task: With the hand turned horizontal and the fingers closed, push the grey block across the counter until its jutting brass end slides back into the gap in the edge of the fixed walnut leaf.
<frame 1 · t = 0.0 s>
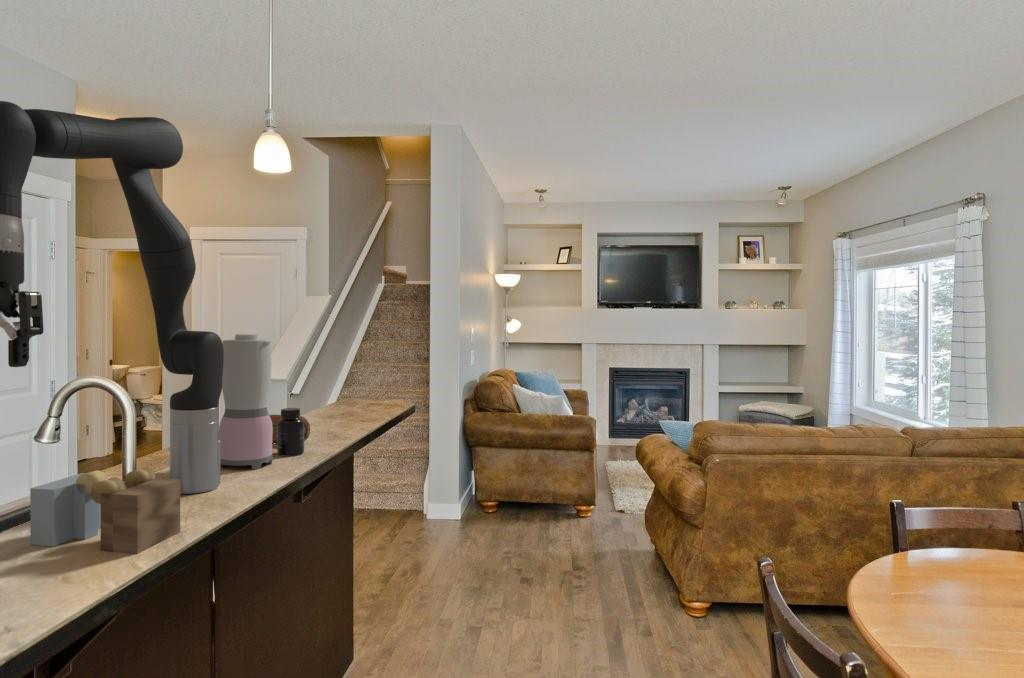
grey block: (79, 503, 104), point 5 cm above the worktop, slide at 6.0 cm
fixed leaf: (124, 539, 103), on the worktop
blender: (239, 465, 156), on the worktop
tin: (284, 444, 182), on the worktop
supplement bottle: (290, 454, 169), on the worktop
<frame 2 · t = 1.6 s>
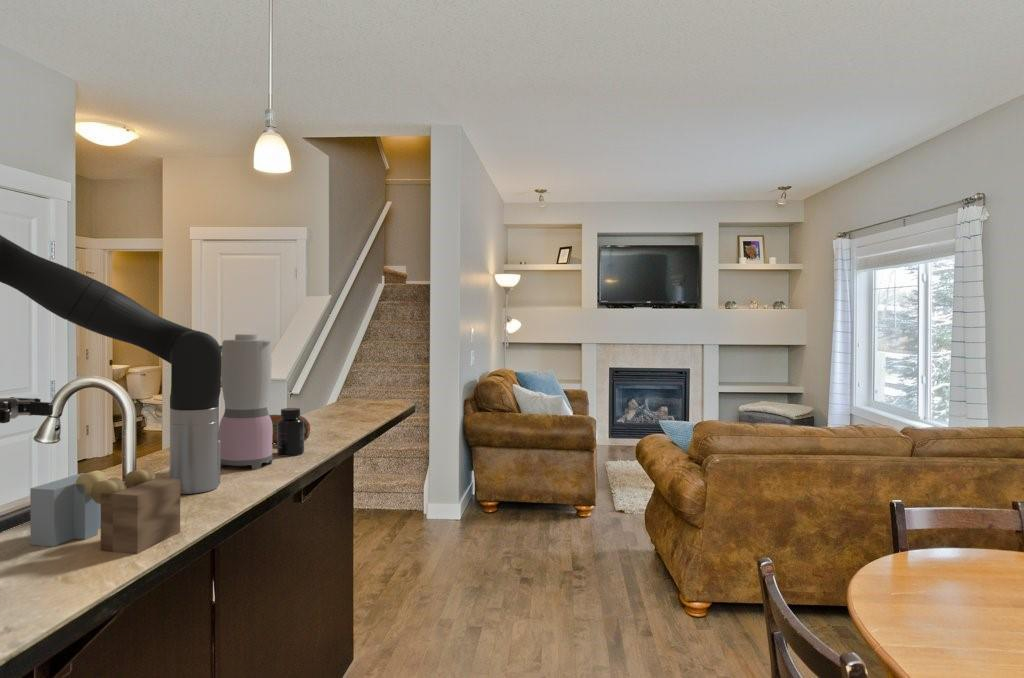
hand: (30, 412, 104), 20 cm above the worktop, tool horizontal, fingers open, 7 cm apart
nothing on the worktop moved.
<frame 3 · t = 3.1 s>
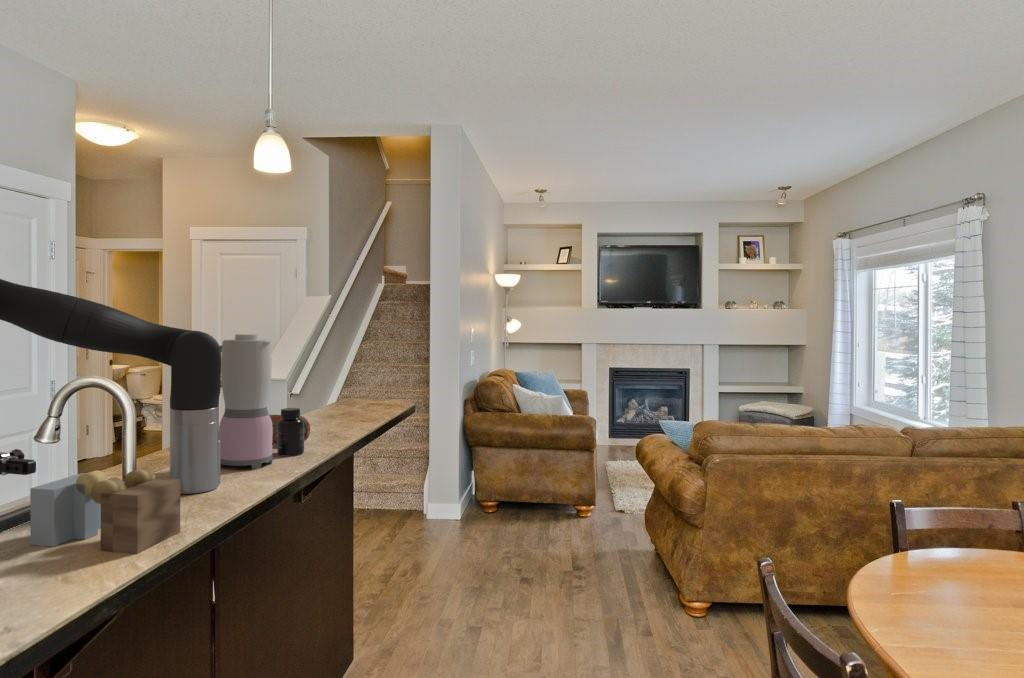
hand: (32, 467, 105), 11 cm above the worktop, tool horizontal, fingers closed
nothing on the worktop moved.
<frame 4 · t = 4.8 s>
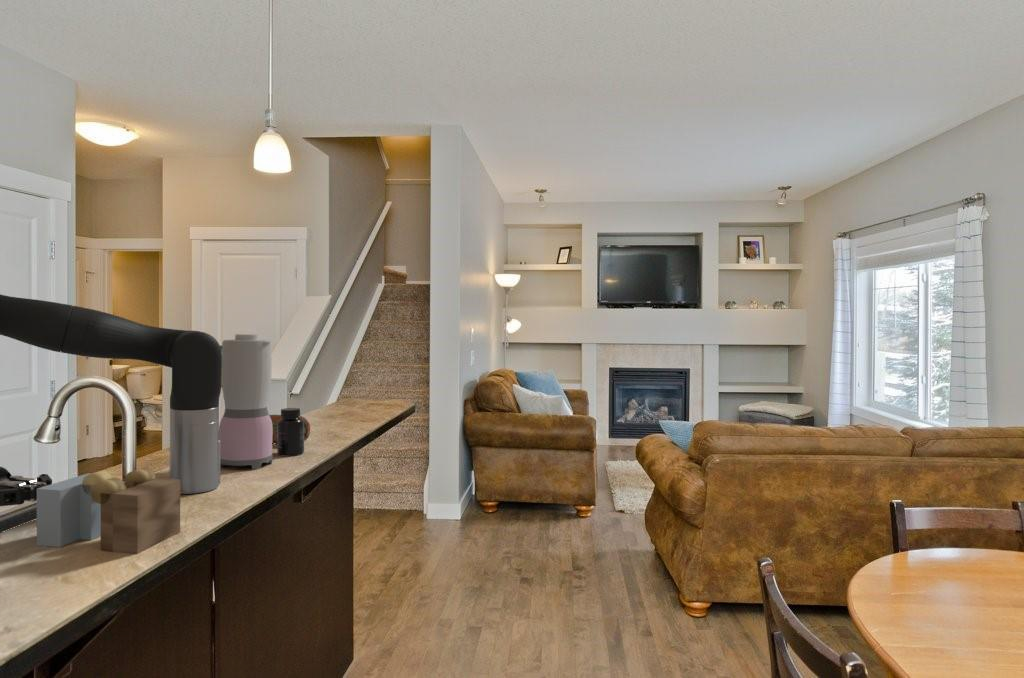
hand: (60, 493, 104), 7 cm above the worktop, tool horizontal, fingers closed
grey block: (85, 504, 104), point 5 cm above the worktop, slide at 4.9 cm, touching gripper
everything else where it was.
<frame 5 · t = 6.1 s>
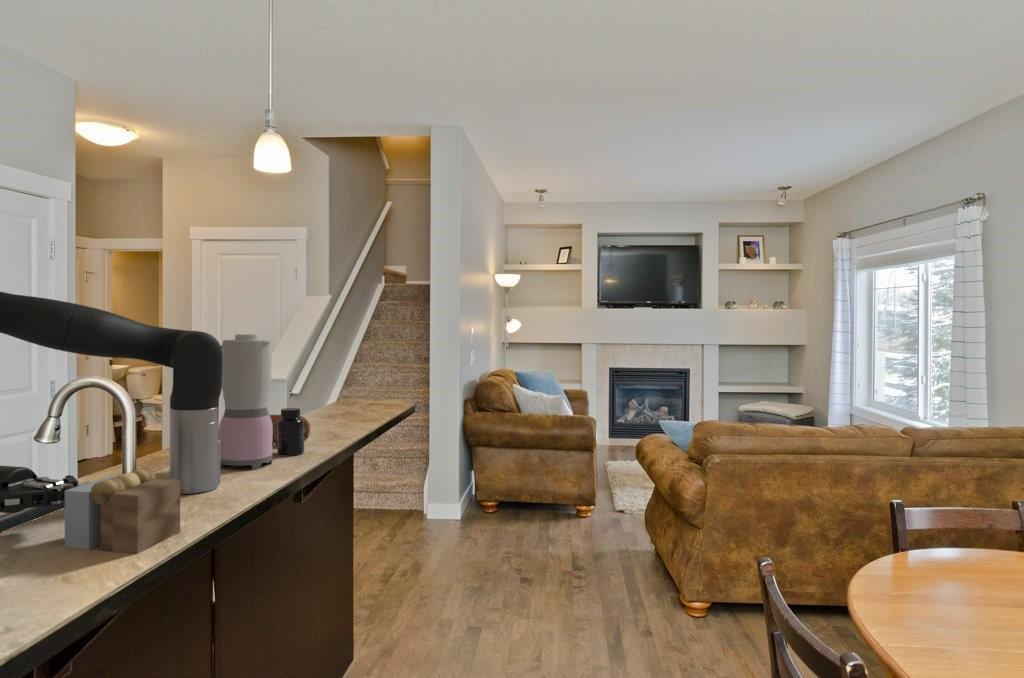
hand: (88, 495, 104), 7 cm above the worktop, tool horizontal, fingers closed
grey block: (112, 506, 103), point 5 cm above the worktop, slide at -0.1 cm, touching gripper
everything else where it was.
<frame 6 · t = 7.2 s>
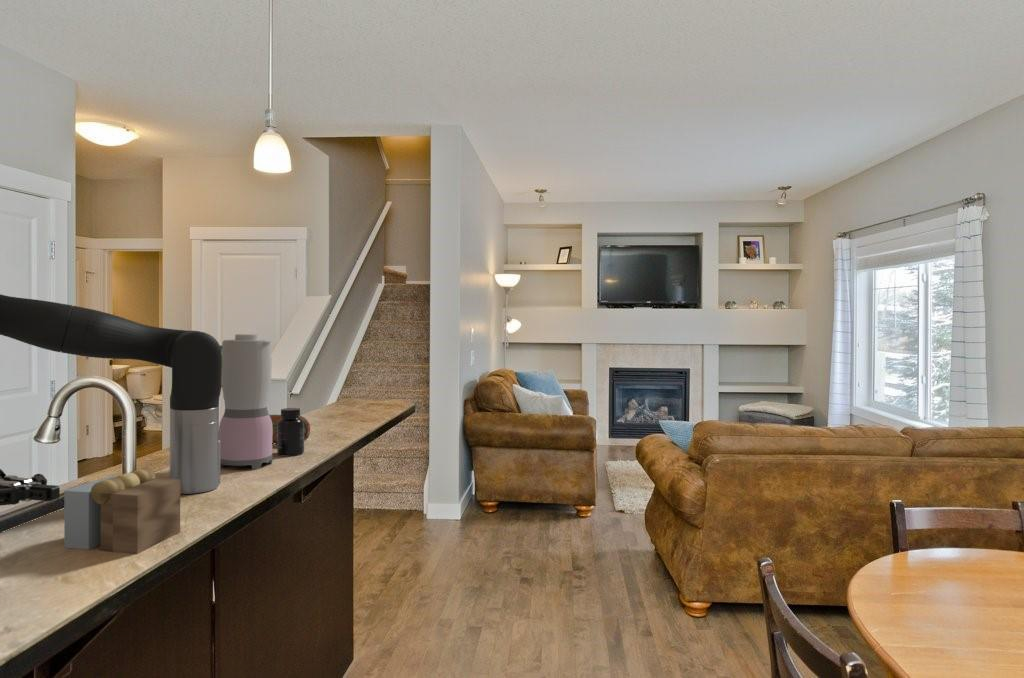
hand: (56, 493, 104), 7 cm above the worktop, tool horizontal, fingers closed
grey block: (111, 506, 103), point 5 cm above the worktop, slide at 0.0 cm
everything else where it was.
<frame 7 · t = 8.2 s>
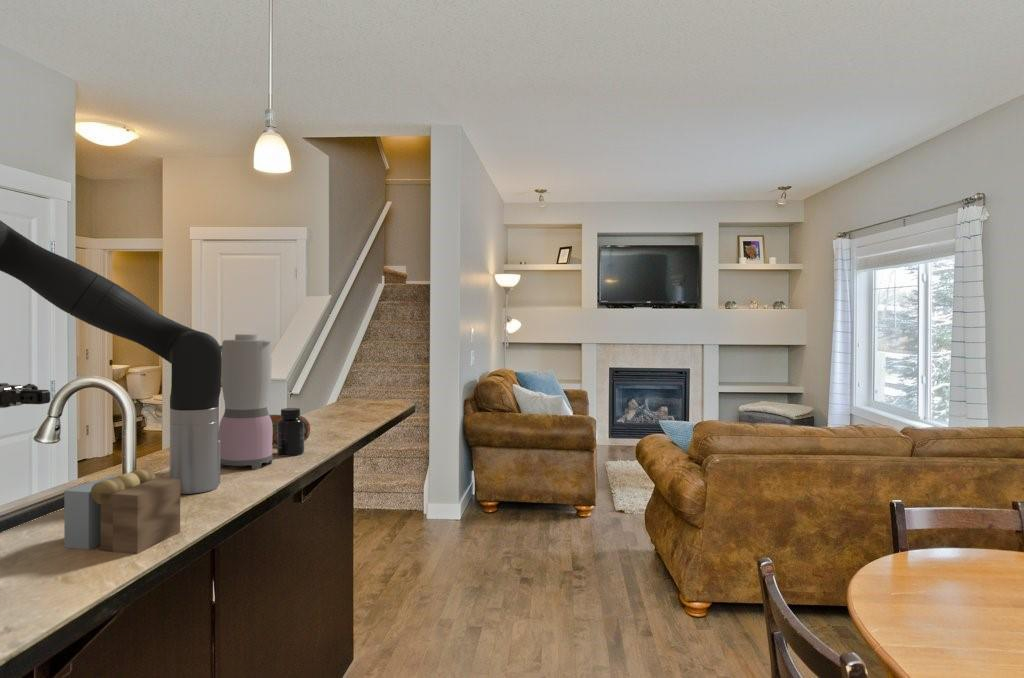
hand: (46, 397, 104), 23 cm above the worktop, tool horizontal, fingers closed
nothing on the worktop moved.
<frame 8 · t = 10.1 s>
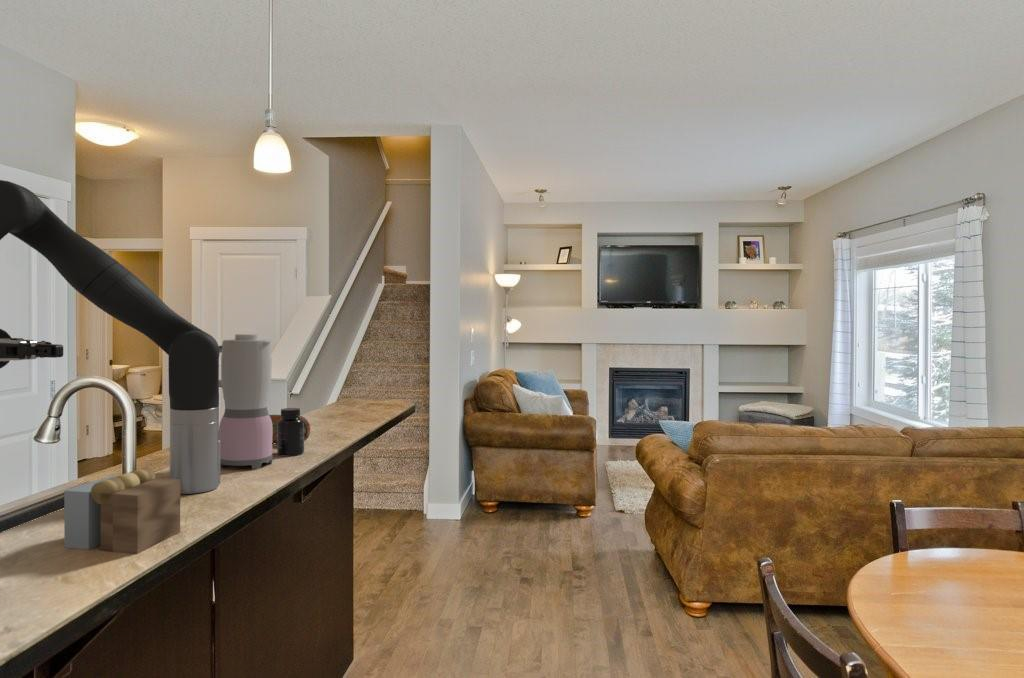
hand: (59, 351, 110), 30 cm above the worktop, tool horizontal, fingers closed
nothing on the worktop moved.
at the end: grey block slide at 0.0 cm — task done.
